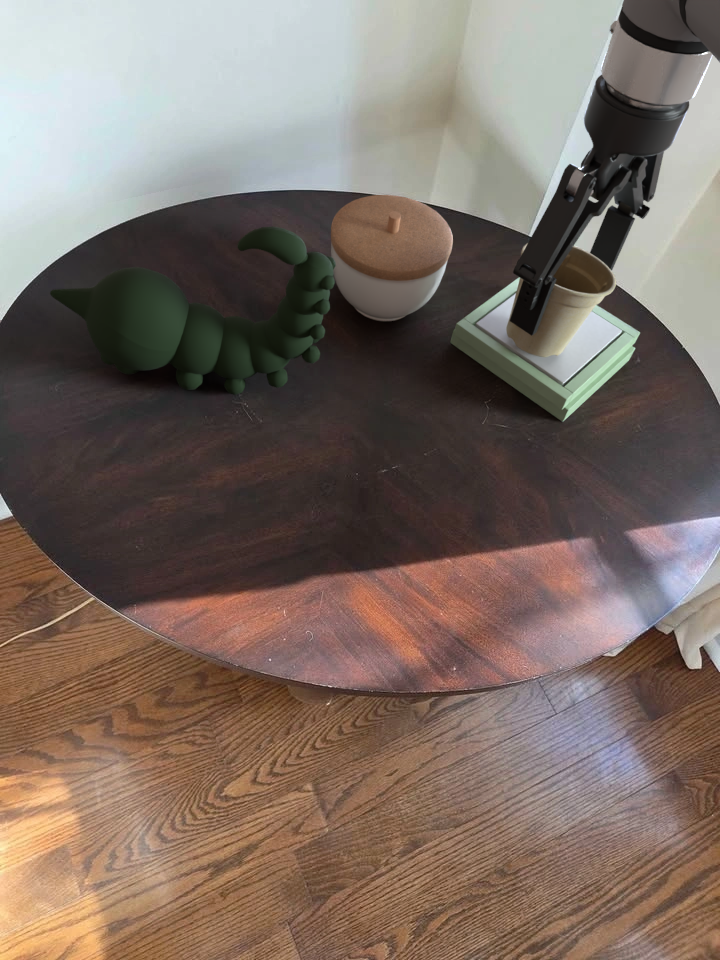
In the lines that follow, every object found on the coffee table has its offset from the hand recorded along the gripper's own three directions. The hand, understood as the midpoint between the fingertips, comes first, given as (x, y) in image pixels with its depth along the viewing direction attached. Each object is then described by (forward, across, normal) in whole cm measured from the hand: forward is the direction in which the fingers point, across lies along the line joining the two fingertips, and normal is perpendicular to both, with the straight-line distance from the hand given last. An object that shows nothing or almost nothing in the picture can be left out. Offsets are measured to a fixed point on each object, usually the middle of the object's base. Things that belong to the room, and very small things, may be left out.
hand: (562, 295), depth 78 cm
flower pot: (+4, +4, 0) cm, 5 cm away
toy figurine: (+8, +29, -22) cm, 37 cm away
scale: (+8, 0, 0) cm, 8 cm away
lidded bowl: (+8, +7, -17) cm, 20 cm away
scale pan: (+6, 0, 0) cm, 6 cm away
